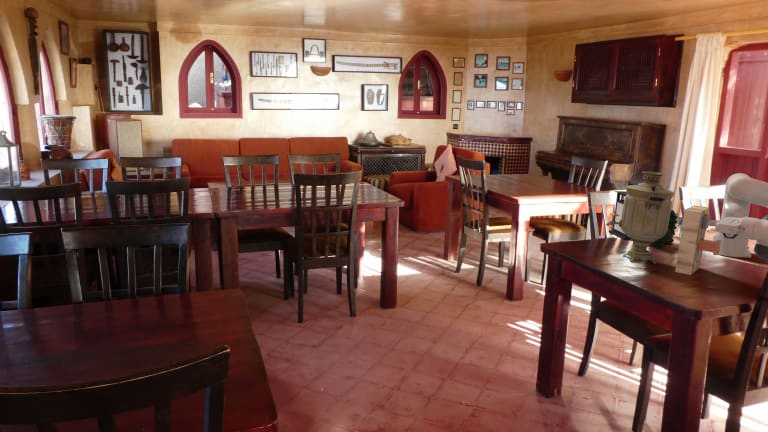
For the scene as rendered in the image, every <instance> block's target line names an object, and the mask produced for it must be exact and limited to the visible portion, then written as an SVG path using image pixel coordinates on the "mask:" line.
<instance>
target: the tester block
mask: <svg viewBox="0 0 768 432" xmlns="http://www.w3.org/2000/svg"><path fill="white" fill-rule="evenodd" d="M683 212H684V213H683V214H684V217H683V216H682V217H683V224H682V230H681V234H680V240H679V245H678V252H677V258H676V264H675V271H674V272H675V273H679V274H684V275H689V276H691V275H692V274H694V273H695V272H697V271H698V270H700V267H701V262H702V256H703V250H698V244H699V240H700V239H704V240H706V239H705V238H706V231H707V229H702V227H701V225H702V219H703V216H705V215H707V214H709V215H710V213H709V212H710V207H708V206H700V205H692V206H690V207H688V208H685V209H684V211H683Z"/></svg>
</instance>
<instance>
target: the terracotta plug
mask: <svg viewBox="0 0 768 432" xmlns="http://www.w3.org/2000/svg"><path fill="white" fill-rule="evenodd" d="M720 245H721V240H717V241H713V240H709V239H700V240H699V244H698V250H703V251H704V252H709V253H713V254H712V255H714V256H717V255H719V254H718V253H719V251H720ZM703 251H702V252H703Z"/></svg>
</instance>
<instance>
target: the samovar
mask: <svg viewBox="0 0 768 432" xmlns="http://www.w3.org/2000/svg"><path fill="white" fill-rule="evenodd" d="M641 173H642V174H643V175H642V180H643V181H644V182H638V183H639V184H638V185H630V186H628V185H626V186H625V191H627V195H626V196H624V205H623V212H622V218H621V220H620V221H619V222H615V216H619V215H618V214H616V213H615V212H612V213H610V216H612V217H613V218H612V220H611V221H608V222H607V223H606V224H605V226H610V225H611V226H612V227H613V225H614V224H619V227H621V229H622V231H623V232H624V233H625V234H626V235H627V236H628V237H629V238H631V239H633V240H632V244H633V246H634V248H631V249H630V250H628V251H627V253H624V254H623V255H622V257H627V256H628V257H630V260H629V262H630V263H635V261H637V260H639V259H640V260H649V261H650V262H653V264H655V265H656V264H657V261H656V260H654V257H653V254H652V253H651V252H650V250H648V248H649V247H650V246H651V245H650V244H651V243H653V241H656V240H658V239H660V238H662V237H663V236H664V235H665V234H666V233H667V230H668V224H669V218H670V213H671V210H672V207H673V202H672V201H673V200H672V198H673V197H674V195H675V192H674V191H672V190H671V189H667V188H664V187H663V185H661V184H659V182H660V181H661V177H662V176H664V175H665V174H664V173H662V172H656V171H655V172H654V171H641Z"/></svg>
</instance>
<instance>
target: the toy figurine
mask: <svg viewBox="0 0 768 432" xmlns="http://www.w3.org/2000/svg"><path fill="white" fill-rule="evenodd" d="M675 213H676V212H675V210H674V209H671V213H670V218H669V224H668V230H667V233H666V234H665V235H664V236H663V237H662V238H660V239H658V240H656V241H652V245H653V247H654V248H658V249H660V248H662V247H663V245H665V246H666V247H669V246H672V245H673V242H674V241H675V238H673V237H674V236H675V235H676V232H675V230H676V229H677V228H678V226H677V224H676V223H677V221H676V218H677V216H676V215H675ZM675 224H676V225H675Z"/></svg>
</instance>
